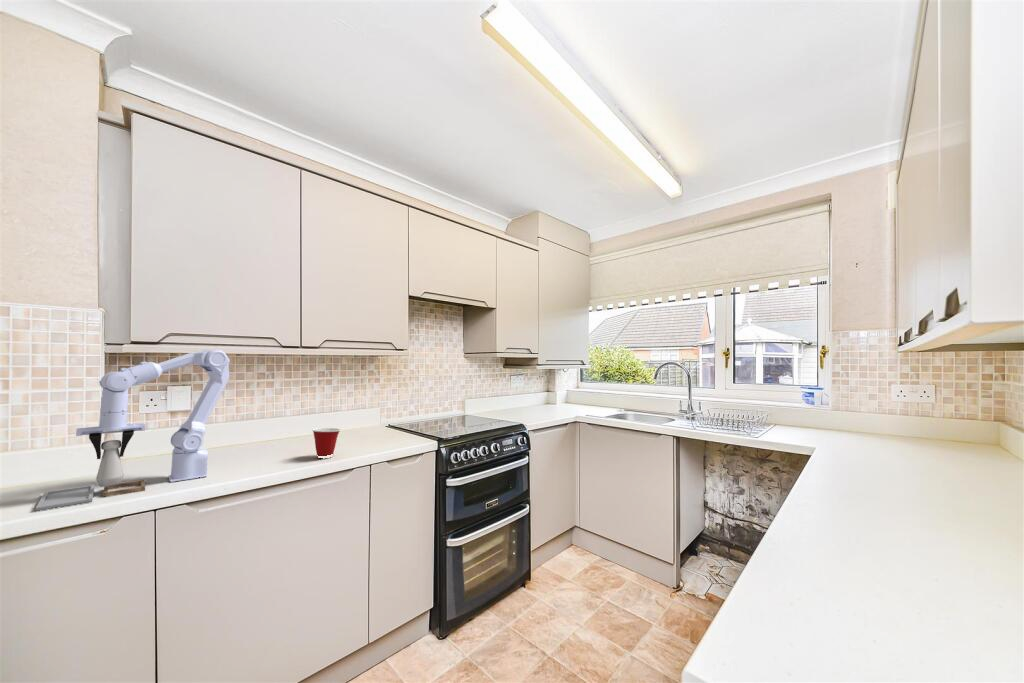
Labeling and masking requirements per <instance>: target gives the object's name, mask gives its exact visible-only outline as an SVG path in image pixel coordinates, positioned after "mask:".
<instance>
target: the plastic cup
mask: <svg viewBox="0 0 1024 683" xmlns="http://www.w3.org/2000/svg"><path fill="white" fill-rule="evenodd" d="M311 430H312V433H313V438H314V443H315V451H316V456H317V455H318V456H327V455H331V454H333V455H334V452H335V448H336V445H337V440H338V435H339V433H340V431H341V428H336V427H335V428H334V427H322V428H321V427H319V428H313V429H311Z"/></svg>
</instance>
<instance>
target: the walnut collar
mask: <svg viewBox="0 0 1024 683" xmlns="http://www.w3.org/2000/svg"><path fill="white" fill-rule="evenodd" d="M140 484H141V485H140ZM133 485H135V487H133ZM126 486H128V487H129V488H127V487H126ZM119 487H121V488H123V489H120V488H119ZM125 487H126V488H125ZM111 488H115V489H114V490H112V489H111ZM116 489H117V490H116ZM109 490H111V491H109ZM144 491H146V484H145V479H140V480H132V481H127V482H120V483H119V484H116V485H112V486H106V487H104V488H103V495H102V496H103V498H105V497H104V496H108V497H111V496H110V495H114V496H118V495H117V494H120V495H125V494H131V493H132V492H133V493H137V492H144Z"/></svg>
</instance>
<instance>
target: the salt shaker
mask: <svg viewBox="0 0 1024 683" xmlns="http://www.w3.org/2000/svg"><path fill="white" fill-rule="evenodd" d="M121 445H122V440H120V439H111V440H106V441H103V442H101V451H102V450H103V452H102V454H101V458H100V463H99V467H98V471H97V474H96V476H95V477H96V478H95V481H96V482H97V484H98V486H99V487H100V488H101V487H102V488H103V487H106V486H112V485H116V484H119V483H122V479H123V478H124V474H125V472H124V469H123V464H122V460H121V457H120V449H121ZM119 448H120V449H119Z"/></svg>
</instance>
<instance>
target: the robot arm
mask: <svg viewBox="0 0 1024 683" xmlns="http://www.w3.org/2000/svg"><path fill="white" fill-rule="evenodd" d="M230 362H231V360H230V358H229V357H228V355H227V353H226V352H224V351H223V350H220V349H213V350H211V349H203V350H200V351H193V352H189V353H186V354H182V355H179V356H177V357H174V358H171V359H168V360H165V361H162V362H158V363H156V362H153V361H148V362H147V361H145V360H144V361H140V362H139V364H138V365H137V364H136V365H134V366H130V367H127V368H126V367H121V368H120V371H111V372H107V373H105V374H104V375H103V376H102V377H101V379H100V380H99V382H98V383H99V386H100V387H101V389H102V392H101V397H100V408H99V413H100V414H99V422H98V424H99V425H98V426H90V427H89V426H88V427H77V428H76V430H75V431H76V433H75V437H81V436H88V439H89V440H90V442H91V444H92V446H93V448H94V451H95V454H96V460H101V459H102V449H101V444H102V436H103V434H115V433H122V435H121V447H120V449H119V454H120V458H121V457H124V453H125V450H126V448H127V446H128V444H129V442H130V440H131V439H132V437H133V436H134V435H135V434H134V433H135V432H143V431H144V432H145V431H146V429H147V428H146V427H147V425H146V423H132V424H129V423H127V417H128V416H127V415H128V402H129V396H128V395H129V389H130V388H131V387H134V386H135V387H136V386H138V385H140V384H143V383H147V382H151V381H154V380H157V379H159V378H160V376H161V375H162V374H163V373H165V372H169V371H172V370H177V369H180V368H182V367H187V366H190V365H193V366H194V365H195V366H196V365H197V366H200V367H201V368H202V369H203V370H204V371H206V373H207V374H206V375H208V377H209V379H208V381H207V383H206V384H205V387H204V388H203V390H202V393H200V396H199V398H198V400H197V402H196V404H195V406H194V407H193V409H192V411H191V413H190V414H189V416H188V418H187V420H186V421H185V422H184V423H182V424H181V425H180V427H179V428H178V430H177V431H175V432H174V433H173V434H172V435H171V437H170V444H171V446H172V447H173V449H172V455H171V466H170V467H171V469H170V470H171V471H170V474H169V475H168V480H169V482H170V483H174V482H179V481H180V482H181V481H186V480H193V479H199V477H200V478H206V477H208V476H207V473H208V454H209V453H208V449H207V448H201V447H202V445H203V443H204V435H205V433H206V424H207V421H208V419H209V418H210V416H211V414H212V412H213V411H214V409H215V406H216V404H217V403H218V400H219V399H220V397H221V395H222V393H223V391H224V389H225V387H226V385H227V383H228V382H229V380H230V366H229V365H230ZM205 476H206V477H205Z"/></svg>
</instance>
